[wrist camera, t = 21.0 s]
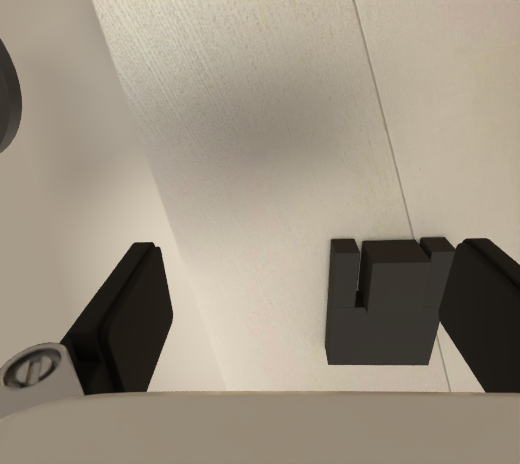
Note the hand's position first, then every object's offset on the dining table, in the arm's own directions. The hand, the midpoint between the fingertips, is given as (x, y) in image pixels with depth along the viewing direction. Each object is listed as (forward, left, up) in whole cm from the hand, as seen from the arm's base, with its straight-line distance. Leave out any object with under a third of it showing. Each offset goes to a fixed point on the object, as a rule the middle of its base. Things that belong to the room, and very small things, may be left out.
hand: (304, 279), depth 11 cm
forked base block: (+11, -19, -23) cm, 32 cm away
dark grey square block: (+11, -15, -23) cm, 30 cm away
